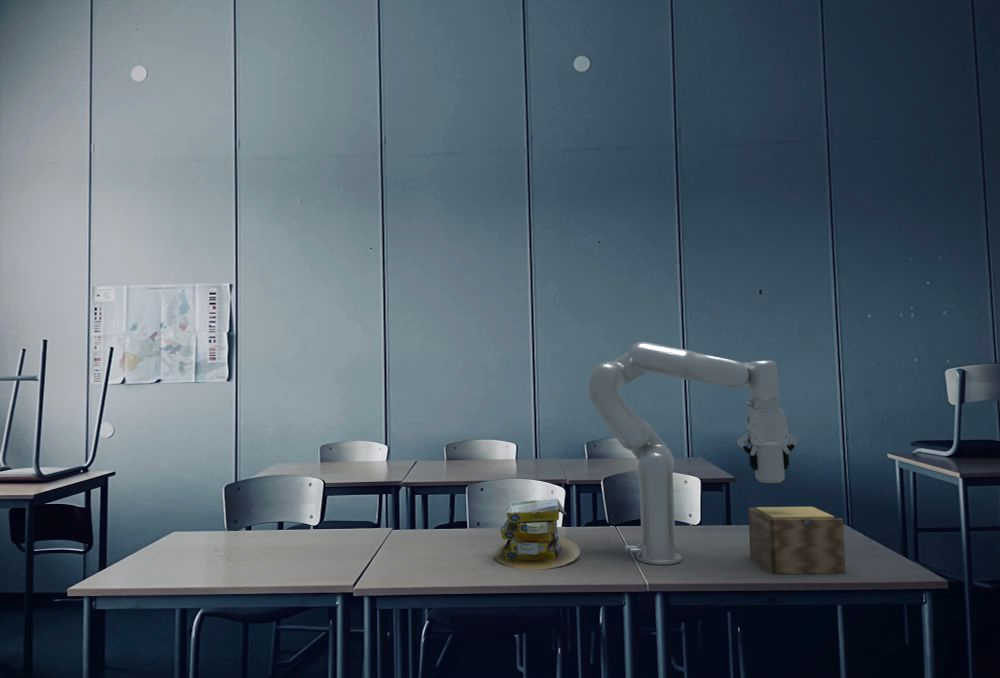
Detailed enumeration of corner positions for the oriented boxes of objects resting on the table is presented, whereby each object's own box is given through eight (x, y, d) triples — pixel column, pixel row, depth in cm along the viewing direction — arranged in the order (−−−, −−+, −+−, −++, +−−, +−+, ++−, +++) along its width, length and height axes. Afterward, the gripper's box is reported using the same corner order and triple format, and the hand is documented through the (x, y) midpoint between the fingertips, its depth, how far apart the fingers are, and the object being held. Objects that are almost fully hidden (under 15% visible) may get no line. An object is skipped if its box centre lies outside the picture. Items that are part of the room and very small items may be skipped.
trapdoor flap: (773, 520, 180) (773, 516, 180) (755, 510, 194) (755, 507, 194) (834, 520, 179) (834, 516, 179) (812, 510, 193) (812, 506, 193)
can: (783, 479, 189) (780, 436, 190) (786, 483, 182) (783, 438, 182) (754, 479, 191) (751, 436, 192) (757, 483, 184) (753, 438, 184)
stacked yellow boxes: (566, 572, 183) (565, 510, 184) (482, 565, 191) (481, 505, 193) (588, 551, 205) (587, 495, 207) (512, 545, 214) (511, 491, 215)
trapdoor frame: (773, 575, 177) (770, 520, 178) (749, 556, 195) (747, 507, 196) (847, 574, 176) (844, 520, 177) (816, 556, 195) (814, 506, 196)
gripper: (737, 406, 184) (741, 472, 183) (802, 404, 184) (807, 469, 182) (729, 405, 192) (733, 468, 191) (791, 403, 191) (796, 466, 190)
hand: (769, 468), depth 186 cm, fingers closed on can, 7 cm apart
